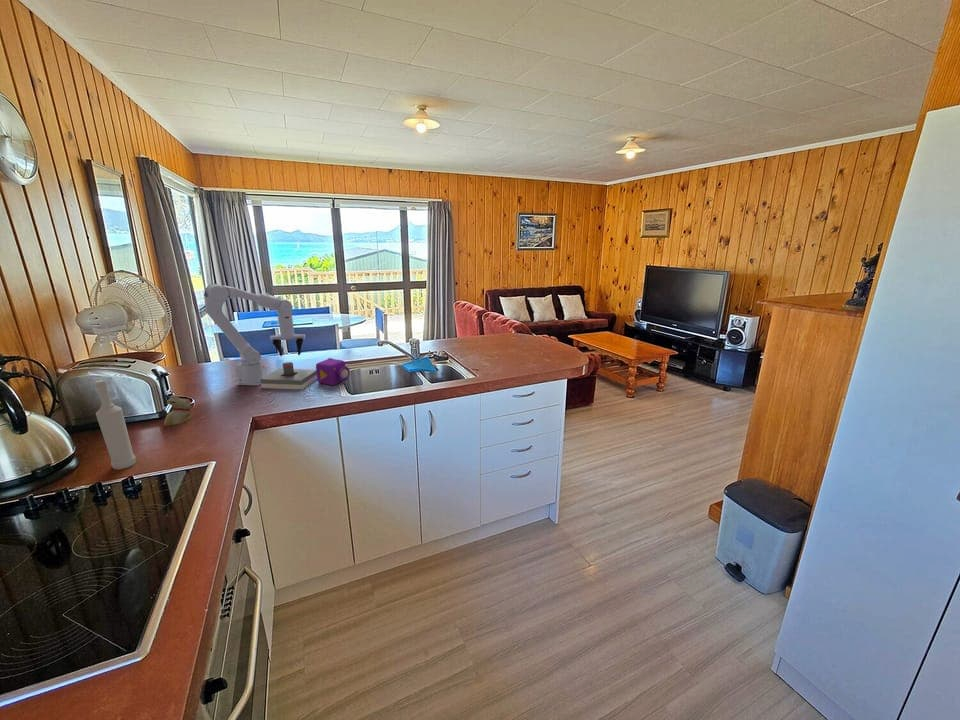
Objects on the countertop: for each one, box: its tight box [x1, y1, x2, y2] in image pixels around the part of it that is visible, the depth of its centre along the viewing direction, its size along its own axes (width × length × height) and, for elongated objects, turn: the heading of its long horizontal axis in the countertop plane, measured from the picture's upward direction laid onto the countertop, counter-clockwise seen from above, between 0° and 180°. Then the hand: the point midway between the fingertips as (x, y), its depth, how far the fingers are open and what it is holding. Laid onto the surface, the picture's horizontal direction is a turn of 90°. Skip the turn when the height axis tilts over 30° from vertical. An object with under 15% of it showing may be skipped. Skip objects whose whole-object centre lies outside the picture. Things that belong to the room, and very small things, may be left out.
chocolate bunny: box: [163, 394, 192, 427], centre depth 136 cm, size 6×8×10 cm
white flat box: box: [260, 368, 318, 390], centre depth 173 cm, size 18×14×4 cm
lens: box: [282, 361, 295, 377], centre depth 172 cm, size 4×4×7 cm
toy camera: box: [315, 357, 351, 386], centre depth 174 cm, size 11×14×10 cm
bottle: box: [94, 379, 137, 470], centre depth 107 cm, size 5×5×25 cm
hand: (290, 354), depth 182 cm, fingers open, 7 cm apart
